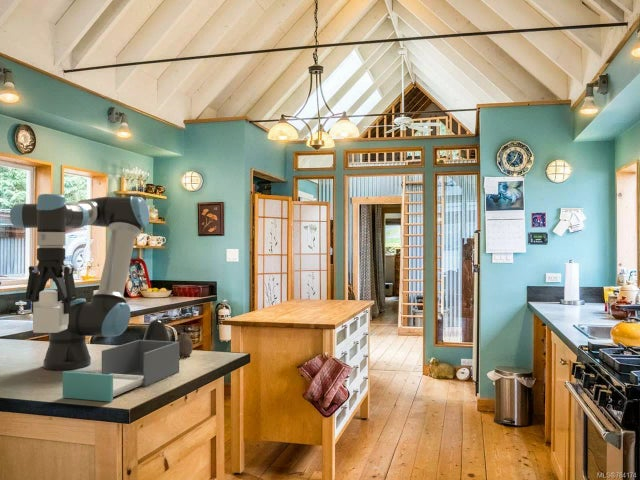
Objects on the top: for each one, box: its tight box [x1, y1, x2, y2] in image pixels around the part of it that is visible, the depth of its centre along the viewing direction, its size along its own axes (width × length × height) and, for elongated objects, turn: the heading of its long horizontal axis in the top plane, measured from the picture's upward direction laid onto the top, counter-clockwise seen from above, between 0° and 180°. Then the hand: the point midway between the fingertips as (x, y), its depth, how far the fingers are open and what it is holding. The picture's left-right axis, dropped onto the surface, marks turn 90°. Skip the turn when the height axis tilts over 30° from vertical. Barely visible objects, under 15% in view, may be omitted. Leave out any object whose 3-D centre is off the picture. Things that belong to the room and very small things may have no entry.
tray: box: [61, 370, 144, 403], centre depth 159 cm, size 15×20×7 cm
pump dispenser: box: [142, 319, 171, 342], centre depth 200 cm, size 10×10×15 cm
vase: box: [175, 332, 194, 358], centre depth 209 cm, size 7×7×9 cm
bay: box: [101, 339, 180, 388], centre depth 175 cm, size 15×20×10 cm
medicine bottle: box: [32, 289, 68, 334], centre depth 159 cm, size 7×7×12 cm
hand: (50, 324), depth 159 cm, fingers closed on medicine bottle, 8 cm apart
